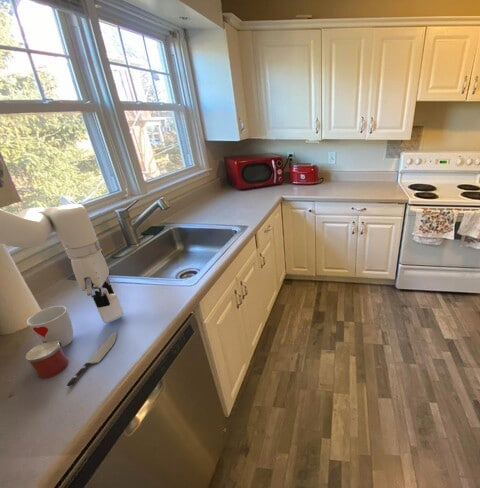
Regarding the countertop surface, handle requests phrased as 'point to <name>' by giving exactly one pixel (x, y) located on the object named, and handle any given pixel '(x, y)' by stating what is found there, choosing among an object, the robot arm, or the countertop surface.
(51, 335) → the cup
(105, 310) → the eye dropper bottle
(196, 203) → the countertop surface
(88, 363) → the chef's knife
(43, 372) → the spice tin
